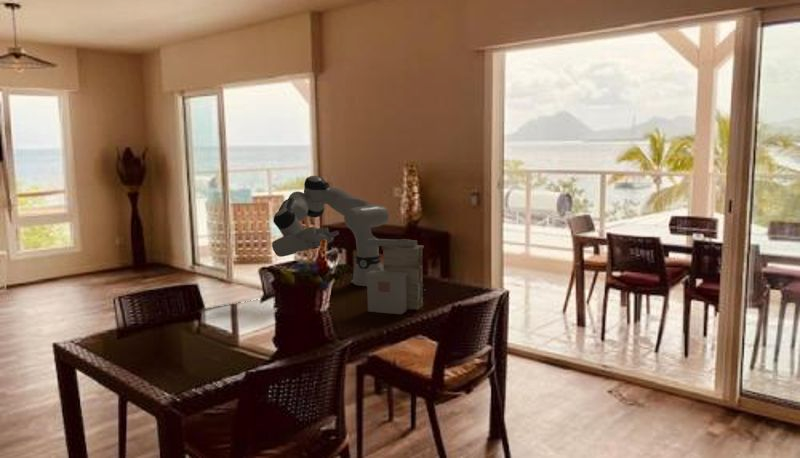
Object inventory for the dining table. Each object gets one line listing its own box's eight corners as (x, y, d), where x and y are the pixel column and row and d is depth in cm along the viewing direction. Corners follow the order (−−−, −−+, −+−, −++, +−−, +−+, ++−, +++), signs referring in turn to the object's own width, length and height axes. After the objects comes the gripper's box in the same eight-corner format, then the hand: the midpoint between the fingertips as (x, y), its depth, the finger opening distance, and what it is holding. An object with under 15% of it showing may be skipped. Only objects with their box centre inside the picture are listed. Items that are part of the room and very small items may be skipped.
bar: (366, 245, 259) (366, 238, 258) (369, 244, 262) (369, 237, 261) (415, 247, 251) (414, 240, 251) (417, 246, 254) (417, 239, 254)
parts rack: (372, 307, 257) (371, 270, 255) (408, 310, 252) (407, 272, 249) (366, 311, 251) (365, 273, 248) (402, 314, 245) (401, 276, 243)
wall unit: (389, 302, 264) (388, 244, 261) (424, 305, 259) (423, 245, 256) (382, 307, 257) (381, 246, 254) (418, 310, 252) (417, 248, 248)
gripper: (292, 229, 259) (320, 219, 255) (315, 236, 278) (341, 227, 274) (295, 243, 258) (323, 234, 254) (317, 249, 277) (344, 240, 273)
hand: (333, 230), depth 264 cm, fingers open, 8 cm apart
